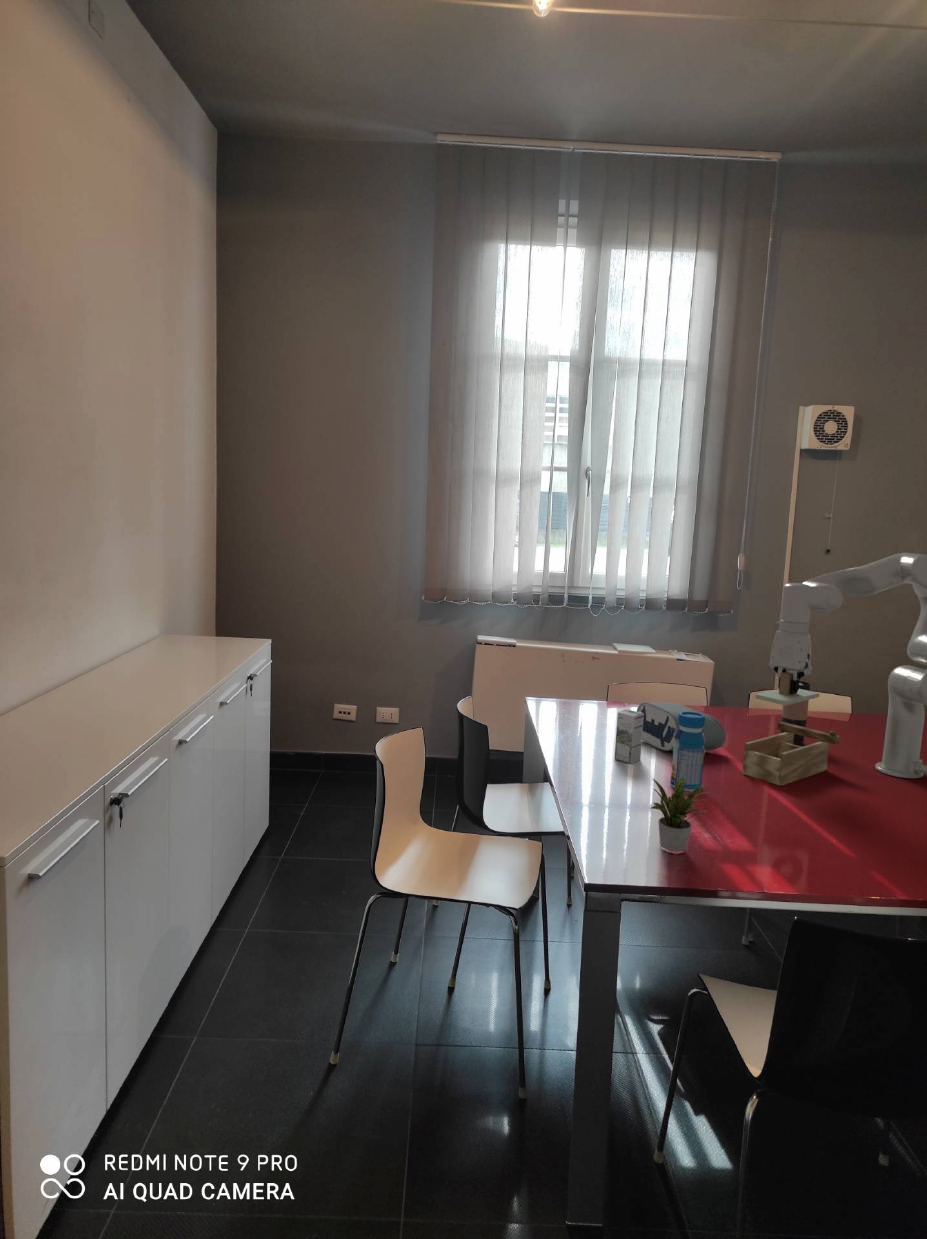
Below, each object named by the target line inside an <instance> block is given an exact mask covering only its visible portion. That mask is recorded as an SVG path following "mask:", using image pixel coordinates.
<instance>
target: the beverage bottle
mask: <svg viewBox="0 0 927 1239" xmlns="http://www.w3.org/2000/svg"><path fill="white" fill-rule="evenodd" d="M678 724H679V726H680V728H679V729H678V730H677V732H676V734H675V736H674V740H675V743H674V744H673V751H672V764H671V765H672V766H671V776H670V782H669V783H670V786H671V787H672V788H673V789H675V785H674V780H675V782H676V785H677V784H678V781H679V780H680V779H681V778H682V777H683V778H684V782H685V790H684V792H691V791H693V790H694V789H696V788H697V787H699V786H702V785H703V772H704V769H703V768H704V760H705V754H706V751H705V747H704V744H705V743H706V739H705V735H704V733H703V731H702V730H701V729H703V728H704V724H705V716H704V715H703V714H700V713H696V712H681V713H679V719H678ZM673 778H674V780H673Z"/></svg>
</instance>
